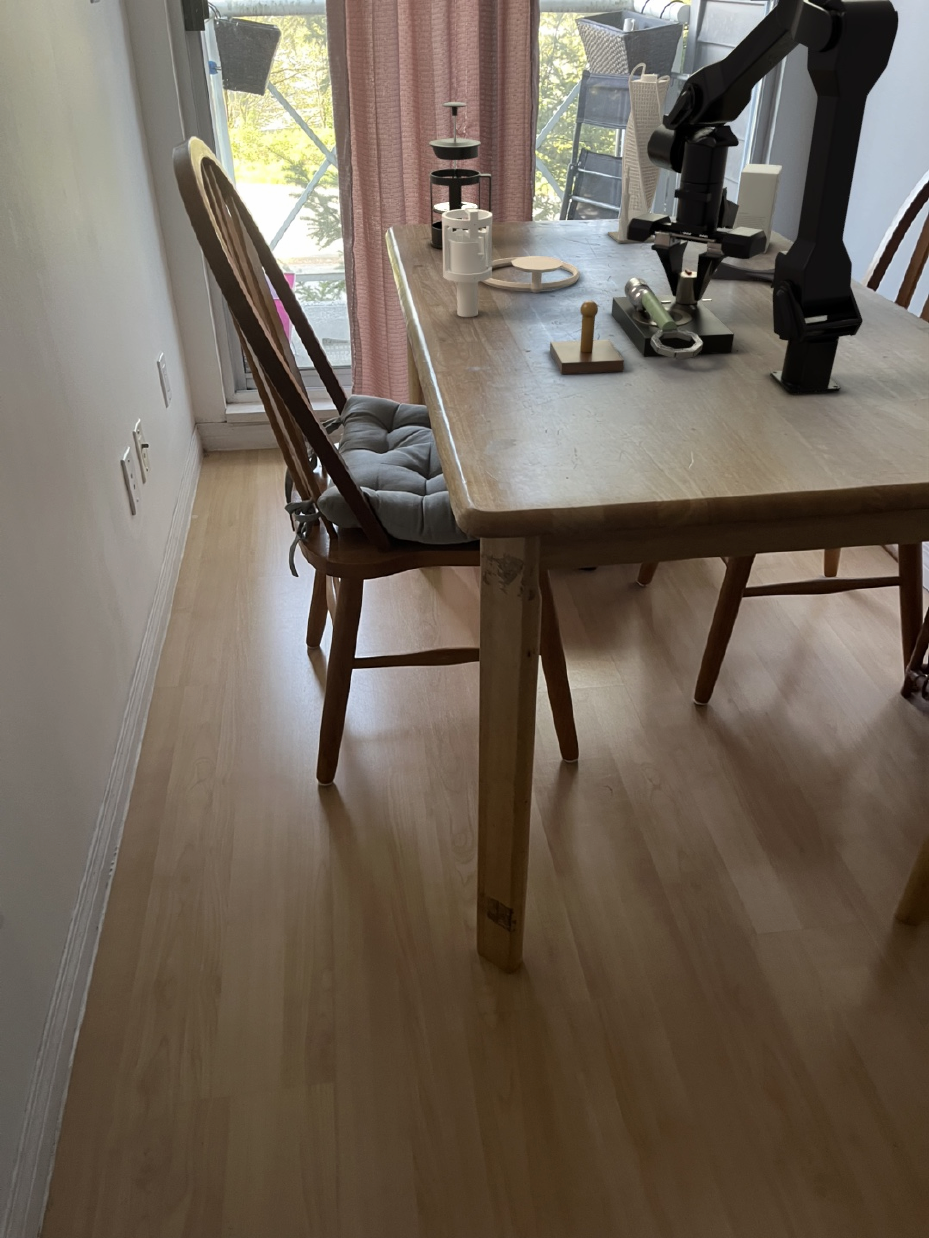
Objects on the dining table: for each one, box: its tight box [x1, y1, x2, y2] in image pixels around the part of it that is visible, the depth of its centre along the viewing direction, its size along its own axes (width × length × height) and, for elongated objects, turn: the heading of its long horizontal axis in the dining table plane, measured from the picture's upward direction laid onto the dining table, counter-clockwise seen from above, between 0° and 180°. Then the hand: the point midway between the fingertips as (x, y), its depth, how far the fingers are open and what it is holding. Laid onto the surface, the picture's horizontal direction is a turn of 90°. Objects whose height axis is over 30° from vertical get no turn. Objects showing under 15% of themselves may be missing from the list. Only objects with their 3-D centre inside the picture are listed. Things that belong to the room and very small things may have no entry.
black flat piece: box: [711, 261, 775, 282], centre depth 153 cm, size 14×15×3 cm
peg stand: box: [549, 299, 625, 375], centre depth 121 cm, size 8×8×8 cm
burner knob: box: [675, 268, 698, 305], centre depth 135 cm, size 3×3×4 cm
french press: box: [428, 101, 492, 251], centre depth 167 cm, size 12×9×23 cm
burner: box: [633, 308, 692, 326], centre depth 130 cm, size 8×8×1 cm
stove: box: [611, 294, 735, 357], centre depth 132 cm, size 18×14×3 cm
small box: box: [732, 163, 783, 254], centre depth 167 cm, size 8×6×13 cm
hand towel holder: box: [481, 255, 581, 294], centre depth 153 cm, size 17×4×21 cm
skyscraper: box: [607, 62, 671, 244], centre depth 169 cm, size 8×8×28 cm
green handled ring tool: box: [623, 277, 703, 360], centre depth 127 cm, size 21×6×4 cm, turn 11°
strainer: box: [441, 207, 493, 318], centre depth 136 cm, size 7×7×15 cm
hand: (687, 298), depth 136 cm, fingers closed on burner knob, 3 cm apart
